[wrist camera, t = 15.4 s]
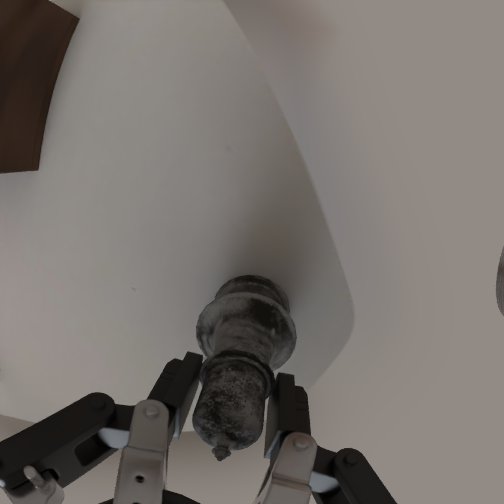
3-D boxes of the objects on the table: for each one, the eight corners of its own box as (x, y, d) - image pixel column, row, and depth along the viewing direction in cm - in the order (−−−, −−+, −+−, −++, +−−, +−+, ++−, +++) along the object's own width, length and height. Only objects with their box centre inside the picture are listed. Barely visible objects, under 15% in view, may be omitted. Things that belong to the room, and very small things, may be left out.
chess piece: (214, 345, 20) (164, 481, 9) (204, 271, 19) (116, 394, 7) (293, 345, 19) (299, 492, 8) (293, 269, 18) (312, 410, 6)
